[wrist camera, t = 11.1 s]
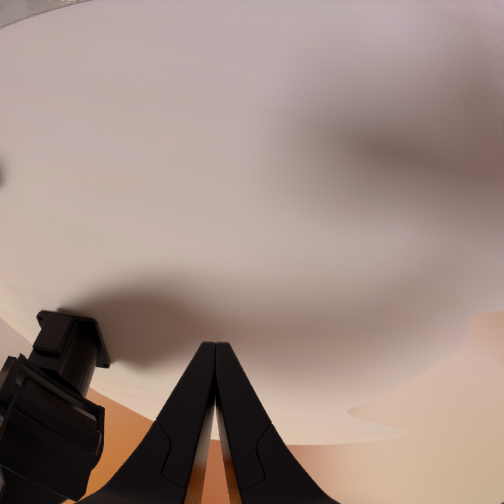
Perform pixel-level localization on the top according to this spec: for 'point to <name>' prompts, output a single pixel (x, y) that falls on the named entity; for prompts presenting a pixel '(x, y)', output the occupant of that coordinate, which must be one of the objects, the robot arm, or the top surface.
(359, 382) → the top surface
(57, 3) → the steel strip
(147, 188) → the top surface
